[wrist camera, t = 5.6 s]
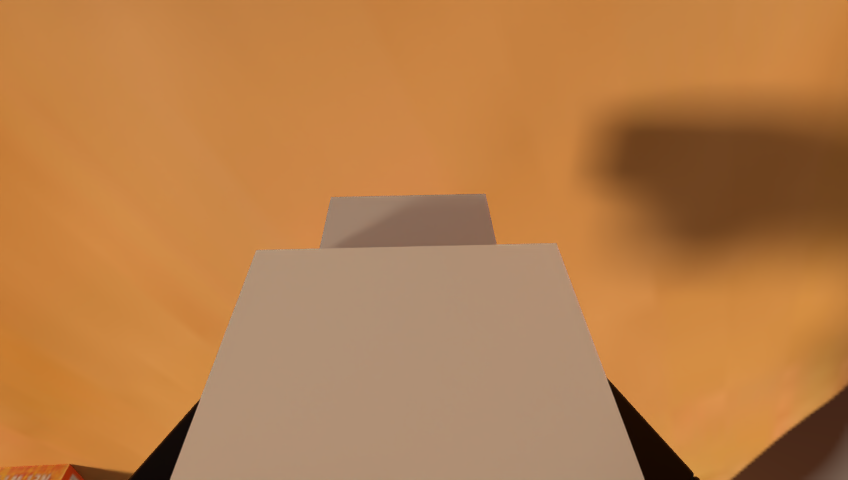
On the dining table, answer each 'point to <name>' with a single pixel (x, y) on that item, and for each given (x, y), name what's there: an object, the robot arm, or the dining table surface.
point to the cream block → (408, 359)
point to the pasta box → (40, 473)
